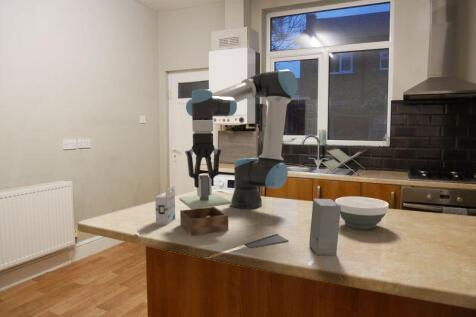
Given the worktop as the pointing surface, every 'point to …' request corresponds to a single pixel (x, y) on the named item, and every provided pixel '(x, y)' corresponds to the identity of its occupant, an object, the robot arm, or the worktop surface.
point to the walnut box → (203, 220)
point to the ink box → (165, 207)
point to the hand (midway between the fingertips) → (204, 195)
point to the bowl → (362, 211)
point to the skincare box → (324, 226)
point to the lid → (204, 197)
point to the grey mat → (266, 241)
